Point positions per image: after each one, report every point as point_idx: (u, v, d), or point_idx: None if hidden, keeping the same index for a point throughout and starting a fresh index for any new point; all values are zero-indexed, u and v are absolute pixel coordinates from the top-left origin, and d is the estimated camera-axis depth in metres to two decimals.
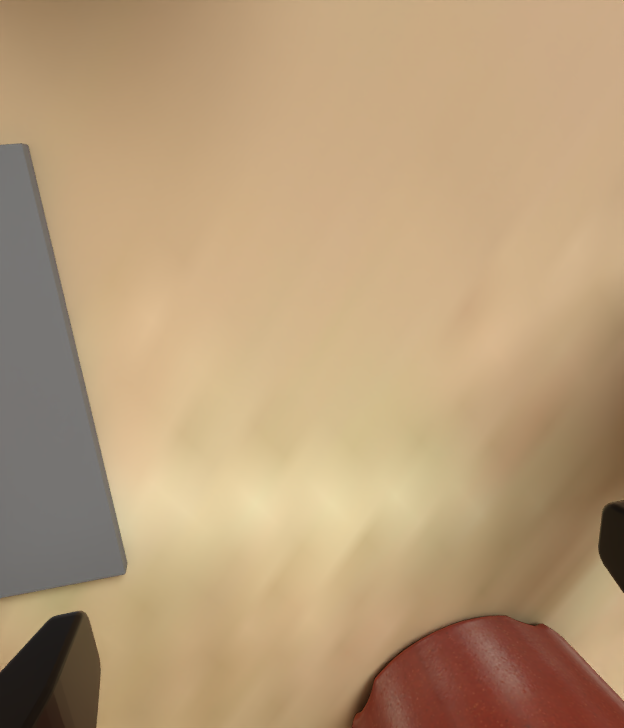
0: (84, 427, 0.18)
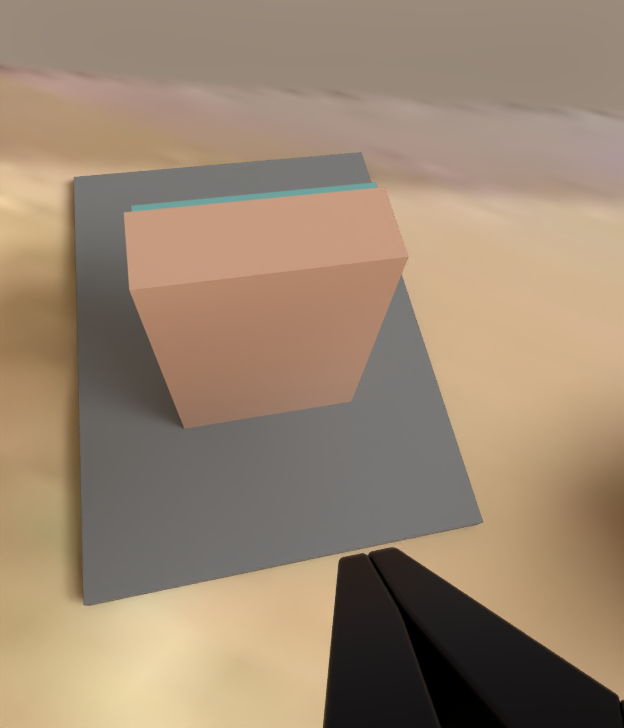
0: (257, 563, 0.20)
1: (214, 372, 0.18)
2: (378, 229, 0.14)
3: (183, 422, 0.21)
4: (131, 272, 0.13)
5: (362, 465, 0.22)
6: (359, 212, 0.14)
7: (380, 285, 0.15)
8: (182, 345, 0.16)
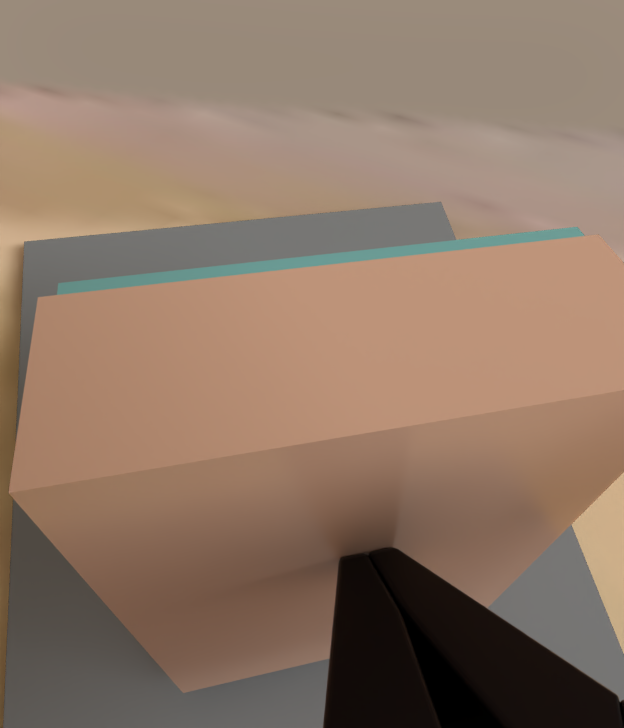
0: None
1: (239, 619, 0.09)
2: (623, 315, 0.06)
3: (181, 686, 0.12)
4: (25, 440, 0.05)
5: None
6: (566, 282, 0.06)
7: (623, 442, 0.06)
8: (170, 587, 0.07)
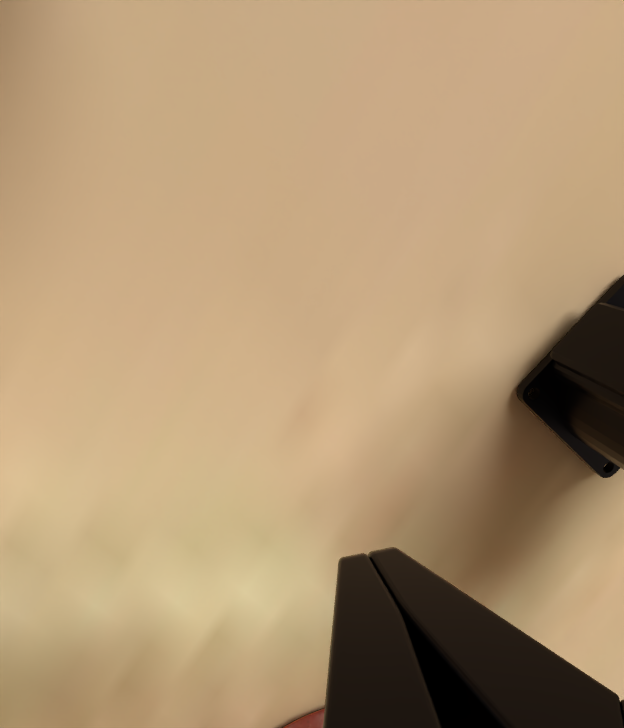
0: None
1: None
2: None
3: None
4: None
5: None
6: None
7: None
8: None
